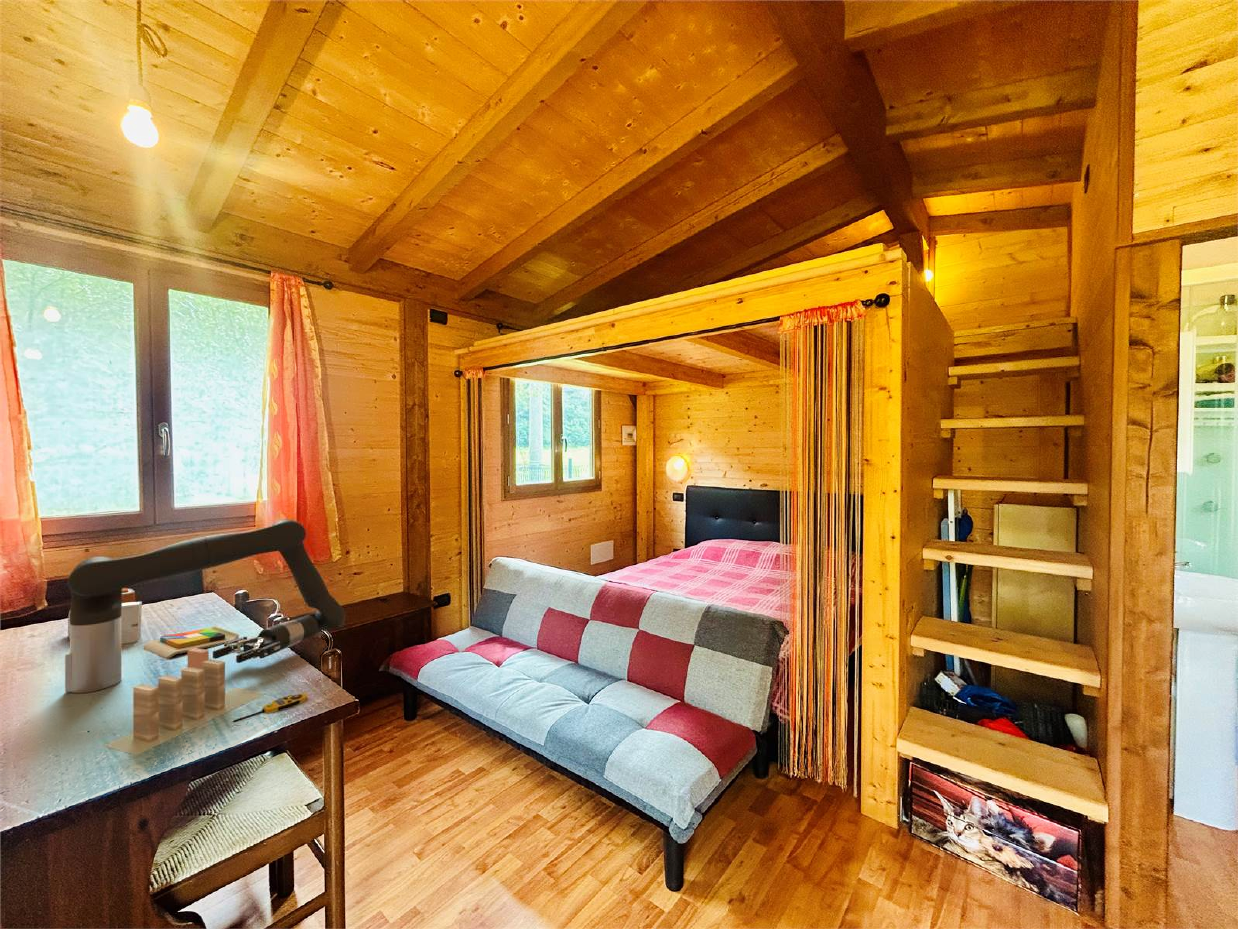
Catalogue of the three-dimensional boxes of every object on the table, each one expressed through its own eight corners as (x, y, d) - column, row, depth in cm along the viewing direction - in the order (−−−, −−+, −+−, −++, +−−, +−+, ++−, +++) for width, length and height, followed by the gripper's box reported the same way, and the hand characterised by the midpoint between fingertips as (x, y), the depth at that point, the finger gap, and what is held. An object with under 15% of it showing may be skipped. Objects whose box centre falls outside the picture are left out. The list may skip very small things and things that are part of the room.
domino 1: (149, 742, 103) (149, 690, 103) (133, 738, 105) (133, 687, 105) (158, 738, 105) (158, 687, 105) (142, 734, 106) (142, 684, 106)
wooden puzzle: (240, 640, 162) (240, 630, 162) (167, 661, 145) (167, 649, 145) (213, 631, 170) (213, 621, 170) (141, 650, 153) (141, 638, 153)
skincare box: (111, 645, 154) (111, 607, 154) (115, 641, 158) (115, 603, 158) (138, 641, 158) (138, 604, 158) (142, 637, 162) (142, 600, 161)
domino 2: (174, 731, 108) (174, 681, 108) (158, 727, 109) (158, 678, 109) (182, 727, 109) (182, 678, 109) (166, 723, 111) (166, 675, 110)
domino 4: (196, 720, 112) (197, 672, 112) (181, 717, 113) (181, 669, 113) (204, 717, 114) (204, 669, 113) (188, 713, 115) (189, 666, 115)
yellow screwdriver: (310, 695, 122) (236, 720, 110) (310, 703, 122) (236, 729, 110) (302, 690, 125) (229, 713, 113) (302, 697, 125) (229, 721, 113)
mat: (136, 757, 99) (136, 755, 99) (103, 748, 102) (103, 746, 102) (265, 695, 125) (265, 693, 125) (236, 689, 128) (236, 687, 128)
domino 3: (201, 696, 124) (201, 652, 124) (187, 693, 125) (187, 650, 125) (208, 693, 126) (208, 650, 125) (194, 690, 127) (194, 648, 127)
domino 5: (217, 710, 116) (217, 664, 116) (202, 707, 118) (202, 662, 118) (224, 707, 118) (225, 662, 118) (209, 704, 119) (209, 659, 119)
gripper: (263, 621, 149) (205, 640, 134) (300, 626, 145) (245, 646, 130) (263, 645, 149) (205, 667, 134) (300, 651, 146) (245, 675, 130)
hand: (225, 657), depth 132 cm, fingers open, 8 cm apart
